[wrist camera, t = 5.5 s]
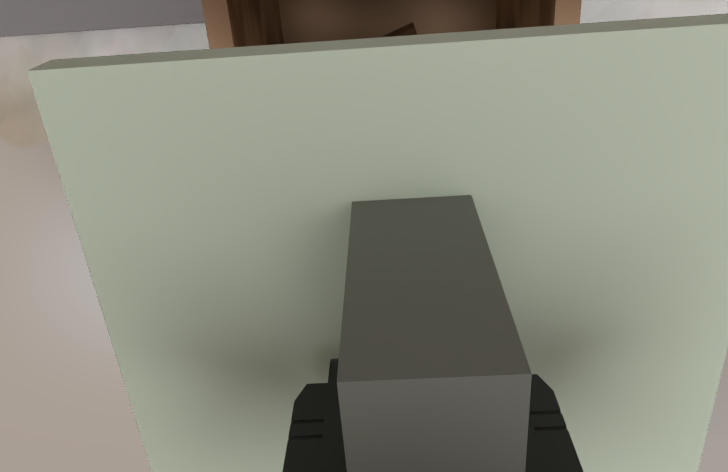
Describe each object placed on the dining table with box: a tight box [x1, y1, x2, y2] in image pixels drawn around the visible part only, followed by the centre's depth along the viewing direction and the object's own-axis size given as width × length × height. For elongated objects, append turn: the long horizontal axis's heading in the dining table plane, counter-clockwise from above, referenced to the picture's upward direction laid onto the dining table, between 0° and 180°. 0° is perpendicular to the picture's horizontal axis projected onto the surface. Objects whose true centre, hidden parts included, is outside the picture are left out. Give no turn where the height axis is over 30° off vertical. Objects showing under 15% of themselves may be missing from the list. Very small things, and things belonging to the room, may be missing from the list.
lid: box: [27, 14, 728, 472], centre depth 13 cm, size 14×14×8 cm
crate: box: [201, 0, 581, 49], centre depth 34 cm, size 15×15×14 cm
